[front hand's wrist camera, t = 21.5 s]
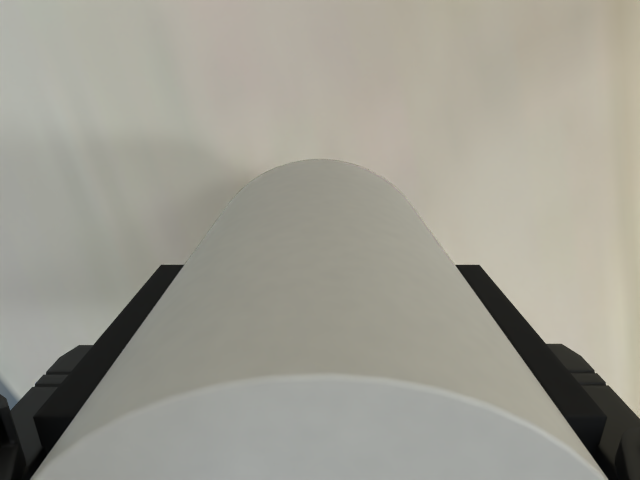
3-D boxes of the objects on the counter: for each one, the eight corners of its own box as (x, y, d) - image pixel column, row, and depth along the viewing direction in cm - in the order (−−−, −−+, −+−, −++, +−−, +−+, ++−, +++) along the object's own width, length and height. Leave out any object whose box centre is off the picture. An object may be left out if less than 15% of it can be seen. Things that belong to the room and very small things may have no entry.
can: (216, 357, 18) (57, 791, 7) (202, 155, 15) (-110, 366, 4) (417, 361, 18) (565, 796, 7) (442, 161, 15) (761, 385, 4)
